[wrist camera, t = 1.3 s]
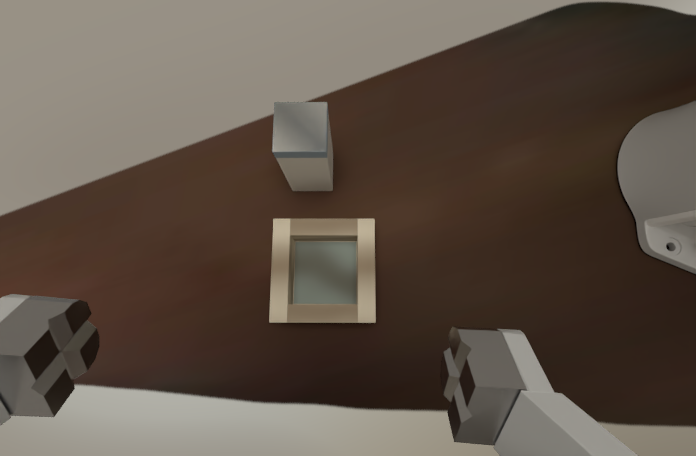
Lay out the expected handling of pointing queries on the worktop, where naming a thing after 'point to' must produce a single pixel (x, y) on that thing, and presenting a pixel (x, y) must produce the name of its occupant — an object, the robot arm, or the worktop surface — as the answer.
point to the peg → (304, 145)
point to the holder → (323, 271)
